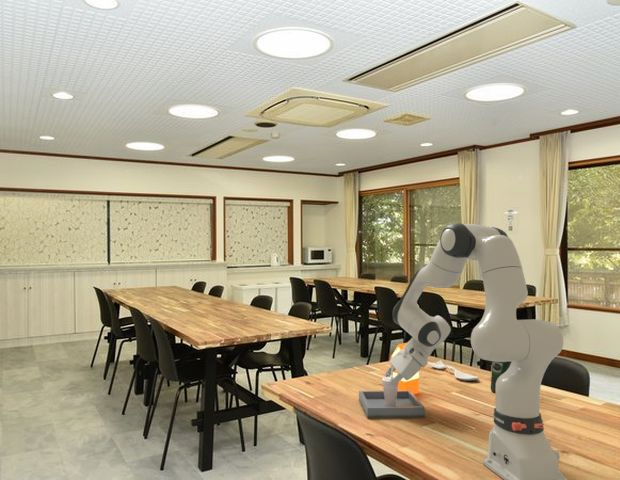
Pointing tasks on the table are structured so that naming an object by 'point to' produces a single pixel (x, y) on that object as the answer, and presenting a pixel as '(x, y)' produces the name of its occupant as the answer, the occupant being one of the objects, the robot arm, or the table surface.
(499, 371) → the coffee jar
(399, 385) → the orange juice
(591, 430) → the table surface
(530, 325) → the robot arm
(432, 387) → the table surface
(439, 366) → the spoon
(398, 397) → the tray
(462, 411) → the table surface
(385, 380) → the smoothie
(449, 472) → the table surface
